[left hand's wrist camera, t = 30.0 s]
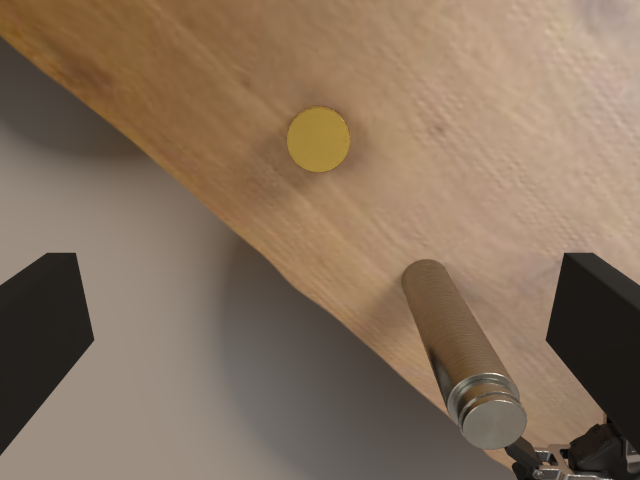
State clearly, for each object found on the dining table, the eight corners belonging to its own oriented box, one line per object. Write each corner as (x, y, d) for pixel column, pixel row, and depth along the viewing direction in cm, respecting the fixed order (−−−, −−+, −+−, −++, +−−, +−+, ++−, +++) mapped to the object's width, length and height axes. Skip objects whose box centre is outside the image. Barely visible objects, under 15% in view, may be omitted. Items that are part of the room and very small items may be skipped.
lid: (356, 156, 42) (358, 162, 39) (299, 175, 42) (298, 181, 40) (338, 96, 40) (339, 98, 38) (278, 117, 40) (276, 120, 38)
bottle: (428, 308, 47) (498, 466, 29) (392, 286, 46) (440, 435, 28) (457, 274, 46) (550, 417, 27) (420, 251, 45) (490, 382, 26)
